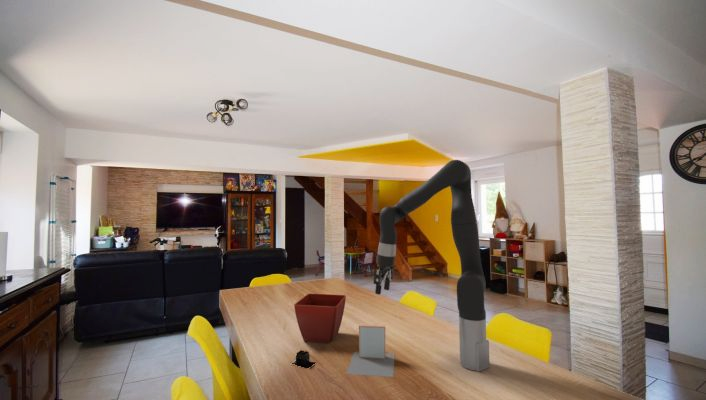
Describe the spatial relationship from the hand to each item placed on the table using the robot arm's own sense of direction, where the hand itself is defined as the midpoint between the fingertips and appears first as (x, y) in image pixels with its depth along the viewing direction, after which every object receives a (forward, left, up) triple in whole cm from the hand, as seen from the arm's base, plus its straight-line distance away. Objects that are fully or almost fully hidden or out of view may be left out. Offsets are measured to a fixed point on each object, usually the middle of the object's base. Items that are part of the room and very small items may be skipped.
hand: (382, 291), depth 136 cm
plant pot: (+23, +18, -23) cm, 36 cm away
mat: (-11, +14, -22) cm, 29 cm away
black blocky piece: (+4, +35, -23) cm, 42 cm away
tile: (-7, +11, -22) cm, 25 cm away
